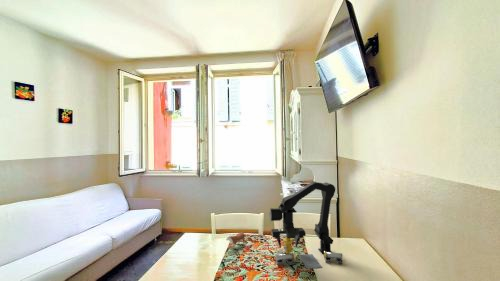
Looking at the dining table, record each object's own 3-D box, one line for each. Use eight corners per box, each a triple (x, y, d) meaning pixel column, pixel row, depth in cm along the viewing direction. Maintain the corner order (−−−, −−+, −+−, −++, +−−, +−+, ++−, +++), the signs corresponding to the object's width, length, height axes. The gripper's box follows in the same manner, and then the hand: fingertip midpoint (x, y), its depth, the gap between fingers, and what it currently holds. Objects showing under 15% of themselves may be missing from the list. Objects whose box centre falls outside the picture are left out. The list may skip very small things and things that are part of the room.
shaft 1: (277, 265, 121) (277, 255, 121) (275, 261, 125) (275, 251, 125) (296, 264, 122) (296, 254, 122) (293, 260, 126) (293, 250, 126)
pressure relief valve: (294, 253, 134) (294, 235, 134) (281, 261, 125) (281, 242, 125) (286, 250, 138) (286, 233, 138) (273, 257, 129) (273, 239, 129)
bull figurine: (225, 248, 141) (225, 234, 141) (242, 242, 150) (242, 229, 150) (229, 251, 138) (229, 236, 138) (246, 244, 147) (246, 231, 147)
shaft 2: (324, 262, 124) (324, 253, 124) (323, 258, 128) (323, 249, 128) (342, 264, 121) (342, 254, 121) (341, 260, 126) (341, 251, 126)
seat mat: (298, 255, 131) (298, 254, 131) (312, 254, 132) (312, 254, 132) (306, 268, 117) (306, 268, 117) (322, 267, 118) (322, 267, 118)
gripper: (274, 225, 125) (274, 255, 125) (308, 224, 127) (309, 253, 127) (270, 219, 136) (271, 246, 136) (302, 217, 138) (302, 244, 138)
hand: (288, 247), depth 134 cm, fingers open, 9 cm apart
